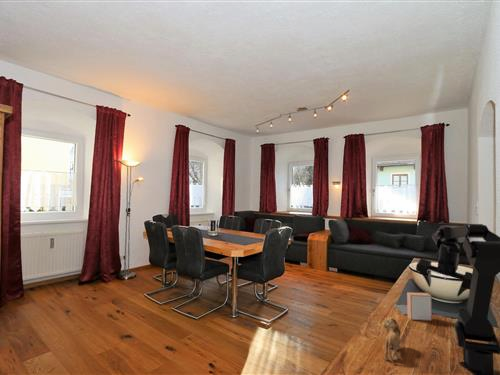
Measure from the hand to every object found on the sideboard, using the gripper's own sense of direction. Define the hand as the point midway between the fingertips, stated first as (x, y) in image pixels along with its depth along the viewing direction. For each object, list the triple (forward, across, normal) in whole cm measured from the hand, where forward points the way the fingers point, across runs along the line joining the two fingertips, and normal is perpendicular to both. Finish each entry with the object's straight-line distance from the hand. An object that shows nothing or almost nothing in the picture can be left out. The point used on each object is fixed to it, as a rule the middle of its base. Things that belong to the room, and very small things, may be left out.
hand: (443, 290), depth 107 cm
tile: (+15, +6, +4) cm, 16 cm away
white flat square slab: (+18, +11, -2) cm, 21 cm away
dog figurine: (+3, +7, +35) cm, 36 cm away
